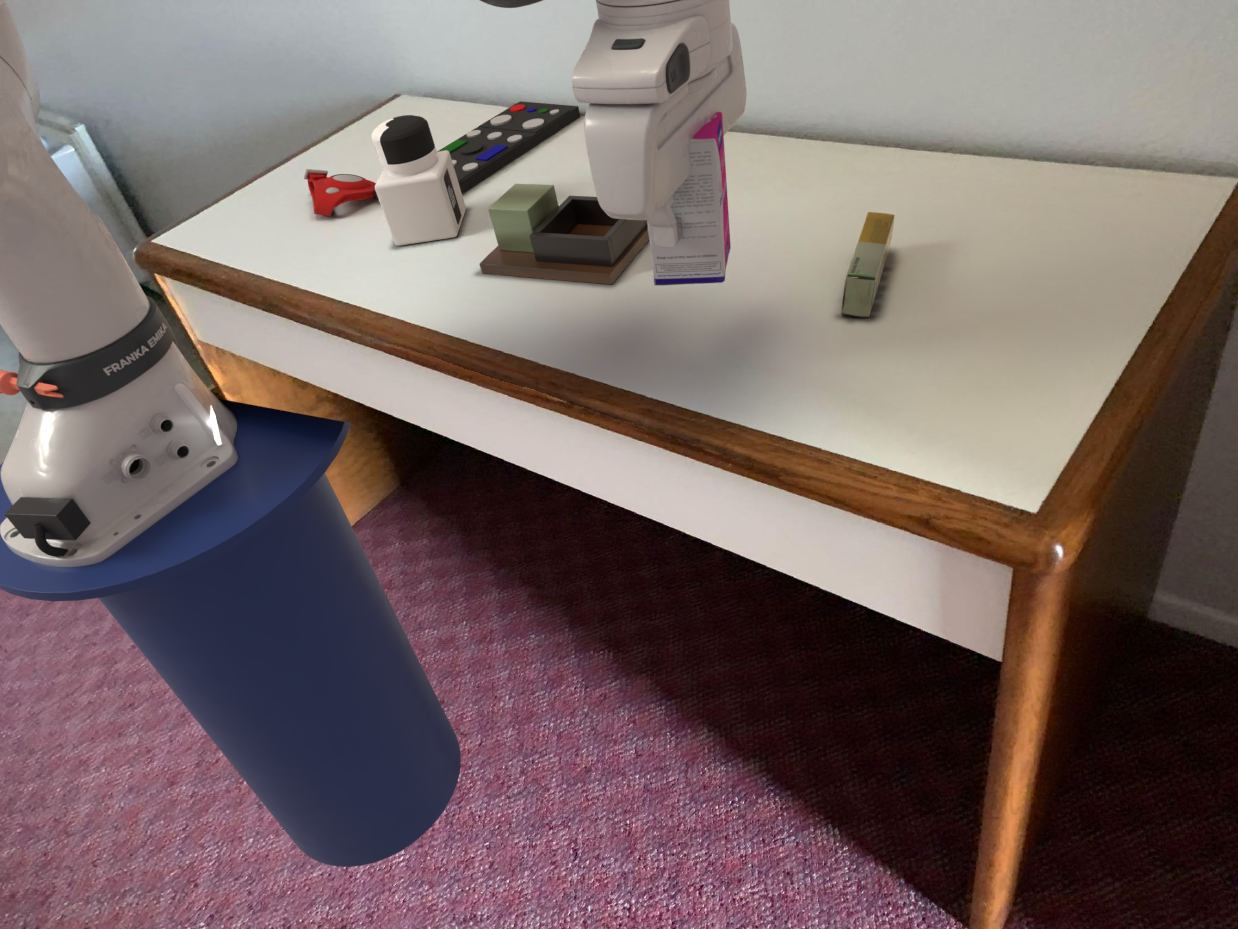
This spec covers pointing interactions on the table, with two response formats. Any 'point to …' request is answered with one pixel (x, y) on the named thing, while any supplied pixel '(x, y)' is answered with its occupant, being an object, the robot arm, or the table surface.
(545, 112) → the remote control
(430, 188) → the container
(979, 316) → the table surface
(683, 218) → the supplement box
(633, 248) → the desk organizer
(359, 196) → the red plastic curved piece
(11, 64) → the robot arm
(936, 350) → the table surface
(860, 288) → the medication box
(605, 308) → the table surface
